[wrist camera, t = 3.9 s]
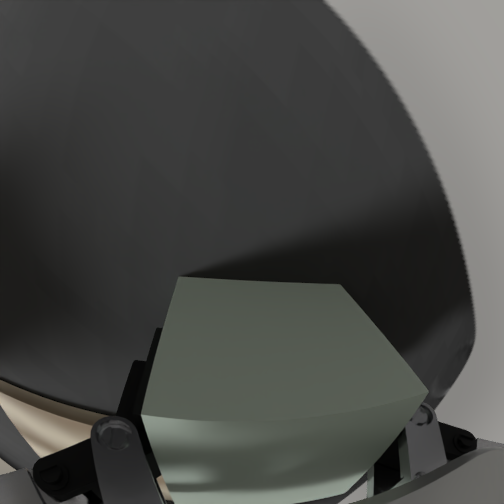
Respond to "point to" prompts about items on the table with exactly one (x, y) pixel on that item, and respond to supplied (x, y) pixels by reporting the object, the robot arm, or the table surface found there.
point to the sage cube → (271, 392)
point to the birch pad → (50, 422)
